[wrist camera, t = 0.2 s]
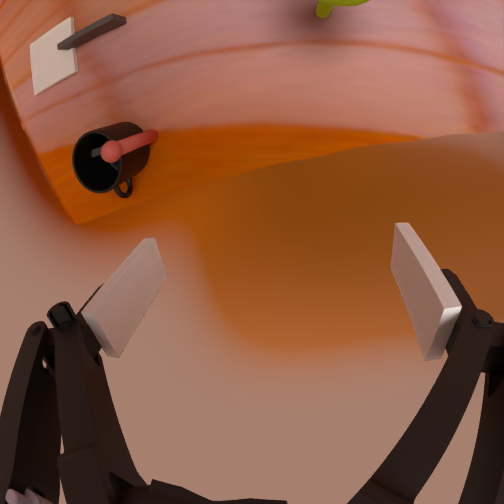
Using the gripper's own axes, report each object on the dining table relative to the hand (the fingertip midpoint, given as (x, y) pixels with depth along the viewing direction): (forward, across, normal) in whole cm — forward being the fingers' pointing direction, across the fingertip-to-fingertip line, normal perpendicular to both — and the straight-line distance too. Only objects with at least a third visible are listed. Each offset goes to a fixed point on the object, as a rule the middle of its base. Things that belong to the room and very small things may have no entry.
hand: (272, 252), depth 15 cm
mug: (+29, -26, +3) cm, 39 cm away
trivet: (+29, -39, +27) cm, 55 cm away
